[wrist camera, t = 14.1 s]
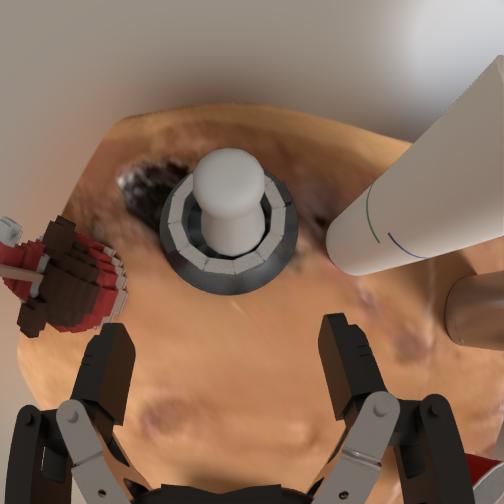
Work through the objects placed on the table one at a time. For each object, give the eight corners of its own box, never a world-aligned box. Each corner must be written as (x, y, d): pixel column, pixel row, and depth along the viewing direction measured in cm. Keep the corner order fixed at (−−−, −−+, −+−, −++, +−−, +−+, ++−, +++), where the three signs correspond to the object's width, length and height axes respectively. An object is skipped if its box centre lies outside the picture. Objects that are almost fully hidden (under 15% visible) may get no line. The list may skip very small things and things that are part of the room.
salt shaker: (192, 236, 28) (154, 185, 15) (227, 192, 29) (218, 116, 16) (240, 272, 27) (238, 246, 15) (274, 225, 28) (299, 165, 16)
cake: (111, 347, 27) (-7, 381, 9) (52, 309, 27) (-66, 304, 10) (145, 258, 29) (39, 203, 11) (82, 227, 29) (-26, 167, 11)
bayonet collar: (262, 150, 31) (264, 128, 27) (317, 261, 29) (330, 254, 25) (147, 197, 30) (133, 181, 26) (192, 316, 28) (183, 319, 24)
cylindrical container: (359, 289, 29) (584, 245, 4) (312, 244, 30) (487, 85, 5) (394, 242, 30) (580, 150, 5) (351, 199, 31) (500, 41, 6)
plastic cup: (431, 440, 26) (484, 472, 14) (476, 431, 26) (526, 452, 14) (402, 499, 24) (441, 539, 12) (451, 486, 24) (491, 514, 12)
